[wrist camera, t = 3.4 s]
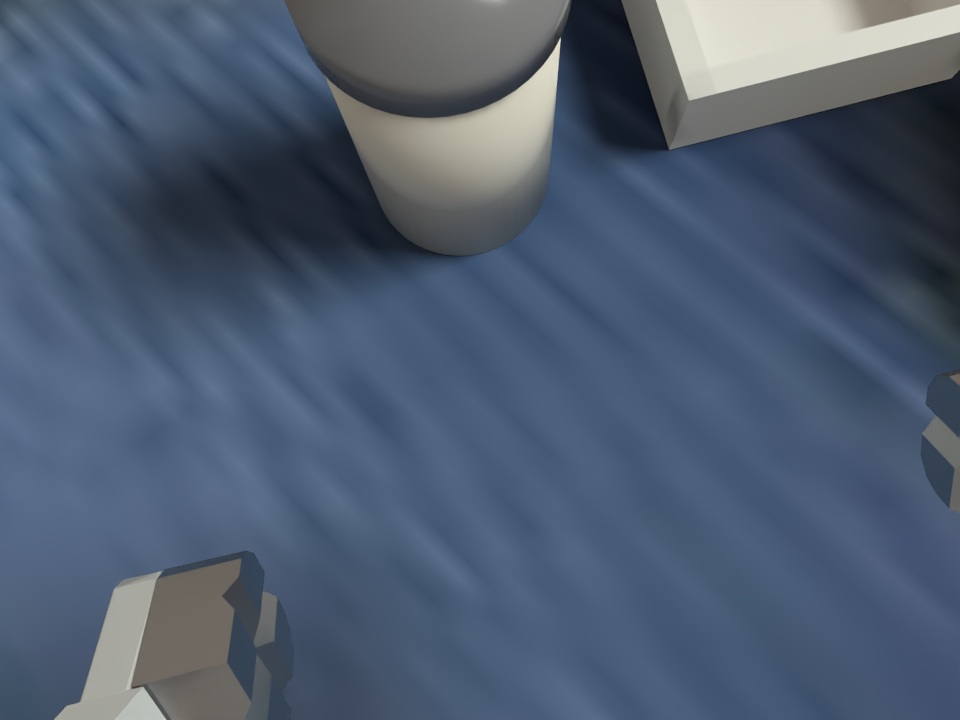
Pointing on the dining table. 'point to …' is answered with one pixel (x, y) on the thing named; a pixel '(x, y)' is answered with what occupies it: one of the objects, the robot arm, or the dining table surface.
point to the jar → (445, 108)
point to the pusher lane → (784, 57)
